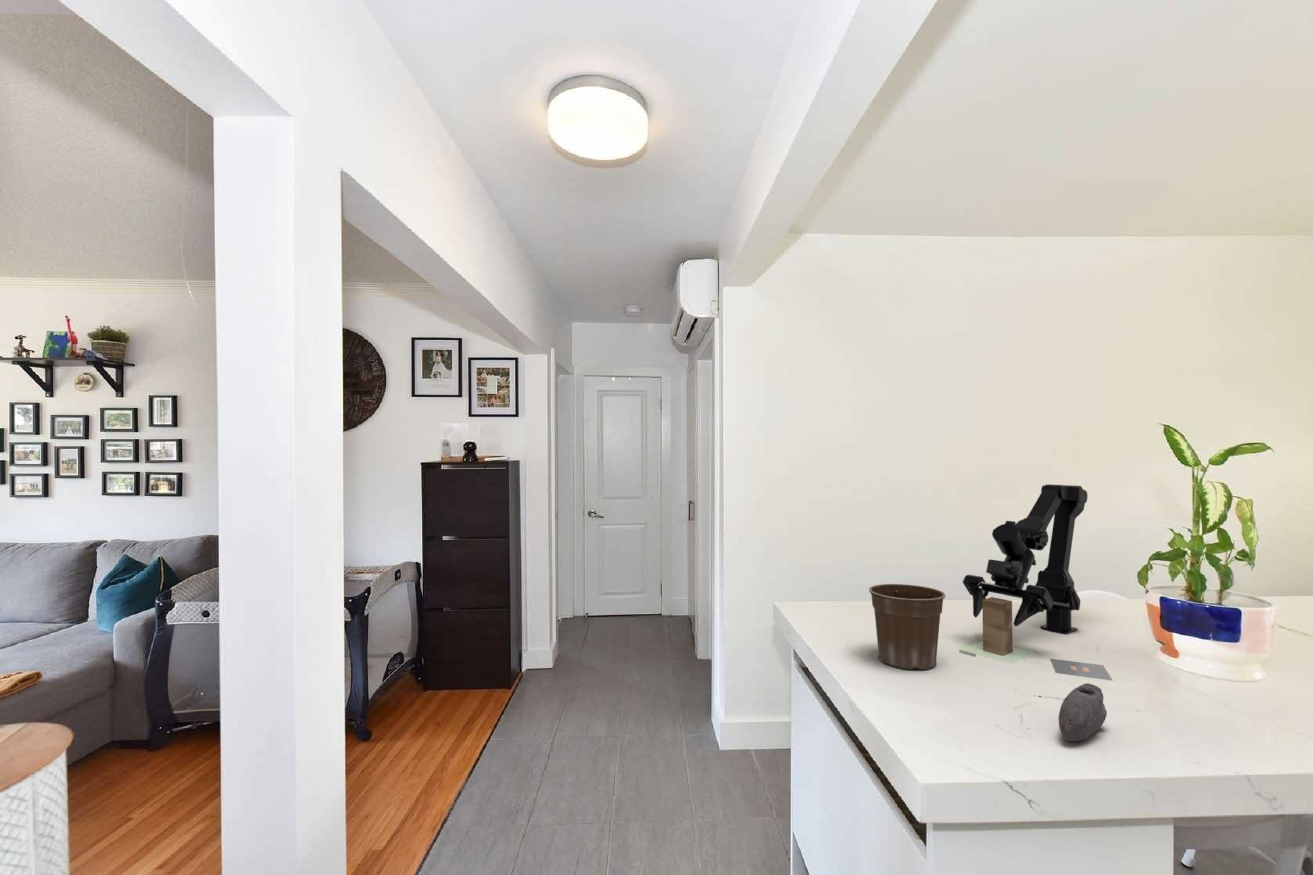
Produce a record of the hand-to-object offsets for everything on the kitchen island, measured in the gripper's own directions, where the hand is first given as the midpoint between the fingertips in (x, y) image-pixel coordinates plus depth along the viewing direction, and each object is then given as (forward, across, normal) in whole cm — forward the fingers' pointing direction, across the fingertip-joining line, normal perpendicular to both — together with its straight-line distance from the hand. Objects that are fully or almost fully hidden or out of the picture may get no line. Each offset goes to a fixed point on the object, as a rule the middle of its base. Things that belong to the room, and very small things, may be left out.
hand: (994, 620), depth 144 cm
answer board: (+5, 0, +7) cm, 8 cm away
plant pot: (+20, -10, -8) cm, 24 cm away
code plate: (+3, +16, +8) cm, 18 cm away
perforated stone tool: (+26, +28, -14) cm, 41 cm away
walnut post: (+4, 0, +6) cm, 8 cm away
